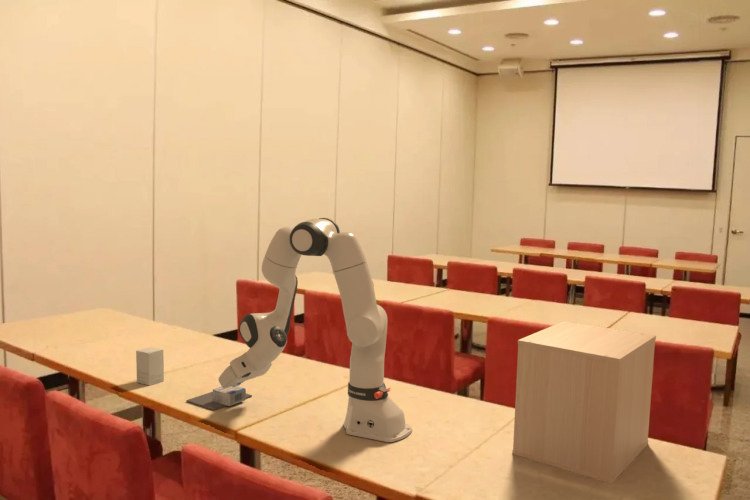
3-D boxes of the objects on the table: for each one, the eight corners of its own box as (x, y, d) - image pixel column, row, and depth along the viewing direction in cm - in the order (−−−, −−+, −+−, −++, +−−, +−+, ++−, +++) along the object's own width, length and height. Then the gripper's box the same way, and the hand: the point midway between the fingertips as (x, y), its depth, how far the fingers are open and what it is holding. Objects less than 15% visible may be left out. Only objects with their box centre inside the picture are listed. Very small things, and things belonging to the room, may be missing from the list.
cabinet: (558, 420, 218) (563, 320, 214) (648, 443, 200) (656, 335, 197) (512, 453, 191) (517, 339, 187) (611, 483, 173) (620, 358, 169)
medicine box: (230, 394, 221) (212, 389, 226) (229, 406, 222) (211, 401, 226) (246, 388, 228) (228, 383, 233) (246, 400, 229) (228, 395, 233)
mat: (251, 396, 234) (251, 395, 234) (213, 410, 219) (213, 408, 219) (225, 388, 242) (225, 387, 242) (186, 401, 227) (186, 400, 227)
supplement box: (164, 381, 249) (164, 349, 248) (148, 386, 243) (148, 353, 242) (152, 377, 253) (151, 346, 252) (136, 382, 247) (135, 350, 246)
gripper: (271, 348, 229) (251, 370, 235) (227, 361, 212) (207, 384, 219) (280, 363, 227) (260, 385, 233) (237, 377, 210) (216, 400, 217)
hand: (234, 384), depth 226 cm, fingers closed
